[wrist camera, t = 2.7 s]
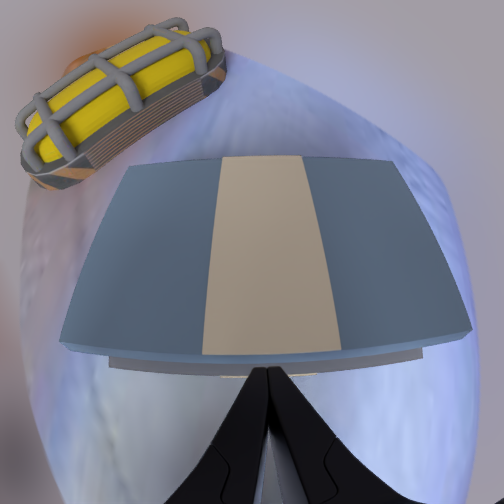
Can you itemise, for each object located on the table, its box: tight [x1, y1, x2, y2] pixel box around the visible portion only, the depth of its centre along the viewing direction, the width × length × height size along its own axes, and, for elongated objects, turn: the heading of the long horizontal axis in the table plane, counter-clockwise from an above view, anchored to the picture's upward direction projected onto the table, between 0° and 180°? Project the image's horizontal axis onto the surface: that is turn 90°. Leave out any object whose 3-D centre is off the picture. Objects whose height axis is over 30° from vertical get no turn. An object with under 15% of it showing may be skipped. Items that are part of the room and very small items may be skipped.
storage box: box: [109, 347, 423, 378], centre depth 20 cm, size 13×18×7 cm
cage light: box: [15, 17, 227, 191], centre depth 29 cm, size 15×8×30 cm
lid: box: [59, 155, 473, 364], centre depth 14 cm, size 13×18×1 cm
